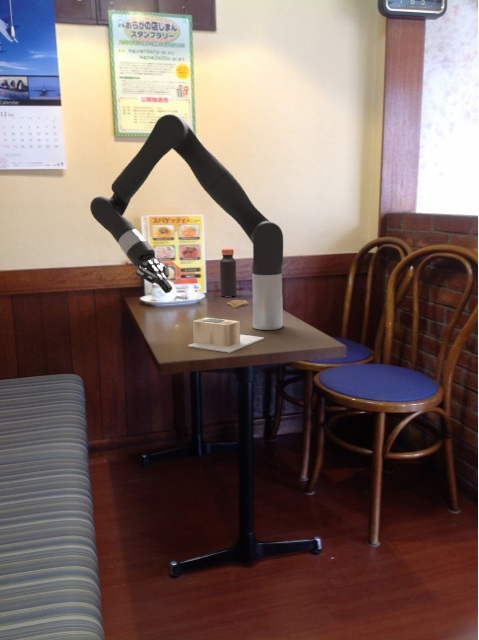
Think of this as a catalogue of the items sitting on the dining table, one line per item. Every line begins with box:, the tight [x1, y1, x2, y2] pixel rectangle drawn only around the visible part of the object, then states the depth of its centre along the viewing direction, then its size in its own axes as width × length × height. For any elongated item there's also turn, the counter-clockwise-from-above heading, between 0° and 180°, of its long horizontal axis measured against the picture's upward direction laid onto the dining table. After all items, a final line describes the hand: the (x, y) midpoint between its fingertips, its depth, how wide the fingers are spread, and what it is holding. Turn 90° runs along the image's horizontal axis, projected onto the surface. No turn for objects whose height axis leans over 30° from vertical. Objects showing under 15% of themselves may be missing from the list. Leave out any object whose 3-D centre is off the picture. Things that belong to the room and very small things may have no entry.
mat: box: [187, 333, 265, 354], centre depth 162 cm, size 18×14×1 cm
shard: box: [226, 299, 250, 309], centre depth 222 cm, size 11×8×2 cm
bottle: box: [219, 248, 238, 297], centre depth 242 cm, size 7×7×20 cm
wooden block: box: [192, 317, 241, 347], centre depth 161 cm, size 6×6×12 cm
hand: (169, 291), depth 168 cm, fingers closed
